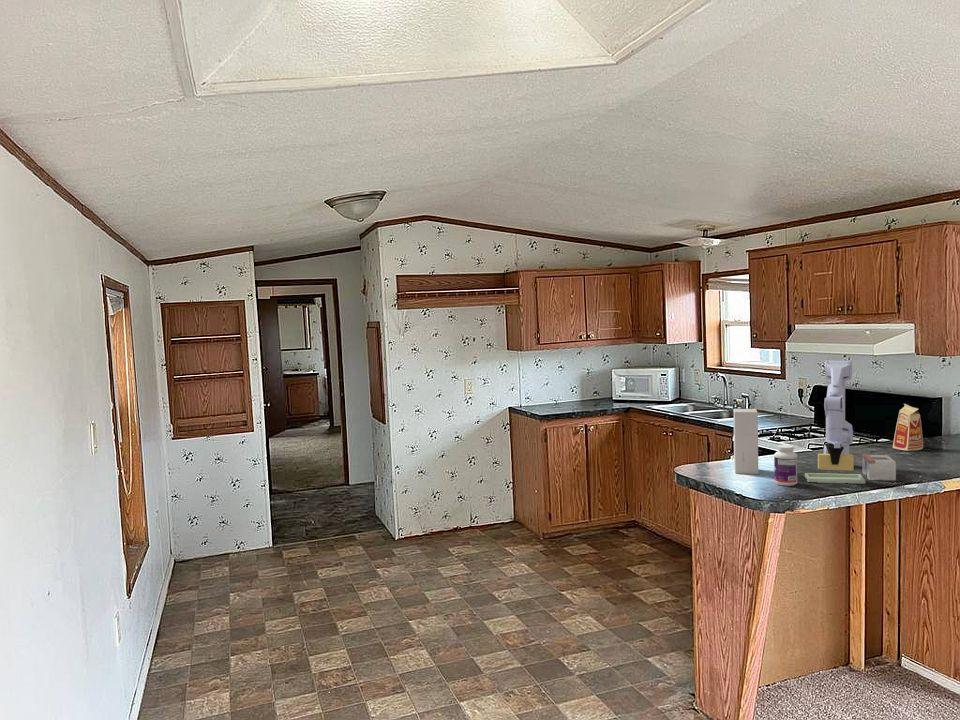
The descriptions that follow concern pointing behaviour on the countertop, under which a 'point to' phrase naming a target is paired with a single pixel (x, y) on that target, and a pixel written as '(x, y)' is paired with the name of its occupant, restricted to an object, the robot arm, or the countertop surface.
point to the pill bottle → (785, 466)
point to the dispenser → (878, 467)
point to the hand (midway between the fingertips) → (834, 463)
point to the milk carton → (908, 430)
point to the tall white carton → (746, 441)
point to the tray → (835, 478)
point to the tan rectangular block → (844, 464)
